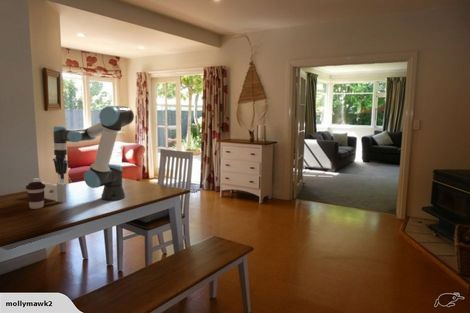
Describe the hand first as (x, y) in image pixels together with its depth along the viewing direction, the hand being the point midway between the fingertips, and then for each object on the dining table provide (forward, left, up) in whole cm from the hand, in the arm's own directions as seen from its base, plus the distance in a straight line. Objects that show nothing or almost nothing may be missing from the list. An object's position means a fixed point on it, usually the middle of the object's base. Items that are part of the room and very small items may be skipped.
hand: (61, 183), depth 221 cm
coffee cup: (+24, +10, -9) cm, 28 cm away
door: (+10, -1, -8) cm, 13 cm away
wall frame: (+9, 0, -9) cm, 13 cm away
